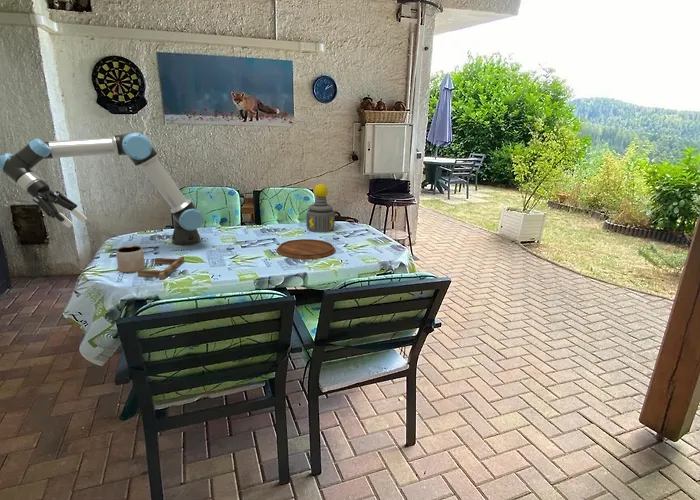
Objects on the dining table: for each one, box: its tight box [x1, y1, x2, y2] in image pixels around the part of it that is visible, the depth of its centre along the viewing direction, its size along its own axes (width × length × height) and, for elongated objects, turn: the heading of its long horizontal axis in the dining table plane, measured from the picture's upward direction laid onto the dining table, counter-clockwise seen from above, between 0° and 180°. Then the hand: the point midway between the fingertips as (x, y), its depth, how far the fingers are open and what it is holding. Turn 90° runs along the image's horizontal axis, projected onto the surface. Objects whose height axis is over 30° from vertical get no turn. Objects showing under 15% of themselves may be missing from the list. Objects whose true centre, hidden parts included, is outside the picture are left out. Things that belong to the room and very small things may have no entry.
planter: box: [115, 245, 146, 274], centre depth 180 cm, size 11×11×10 cm
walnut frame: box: [136, 256, 185, 281], centre depth 181 cm, size 24×12×2 cm, turn 1°
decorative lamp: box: [305, 183, 336, 233], centre depth 260 cm, size 19×19×30 cm
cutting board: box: [276, 238, 336, 260], centre depth 219 cm, size 32×32×2 cm
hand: (78, 223), depth 175 cm, fingers open, 9 cm apart
